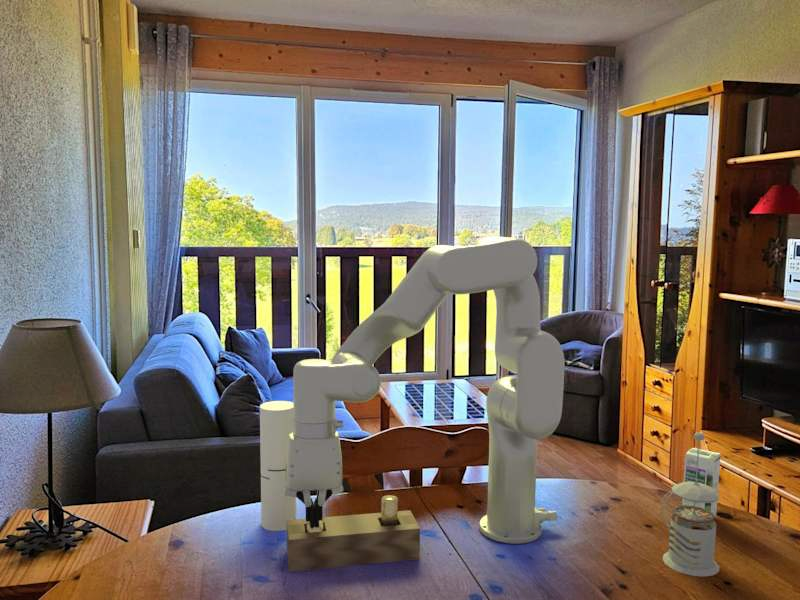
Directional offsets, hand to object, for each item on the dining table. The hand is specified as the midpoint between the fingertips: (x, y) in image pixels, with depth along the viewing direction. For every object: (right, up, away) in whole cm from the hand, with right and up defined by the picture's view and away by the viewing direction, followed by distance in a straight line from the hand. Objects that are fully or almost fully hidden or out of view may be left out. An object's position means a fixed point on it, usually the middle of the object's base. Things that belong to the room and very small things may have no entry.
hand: (314, 524), depth 127 cm
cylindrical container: (-9, -5, +15) cm, 18 cm away
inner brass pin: (+14, -2, +3) cm, 14 cm away
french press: (+70, -8, +2) cm, 70 cm away
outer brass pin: (0, -6, +1) cm, 6 cm away
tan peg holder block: (+7, -7, +2) cm, 10 cm away
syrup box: (+80, -5, +20) cm, 82 cm away
